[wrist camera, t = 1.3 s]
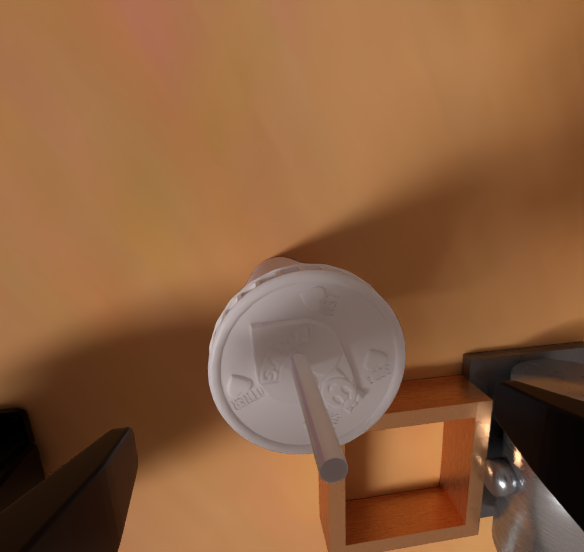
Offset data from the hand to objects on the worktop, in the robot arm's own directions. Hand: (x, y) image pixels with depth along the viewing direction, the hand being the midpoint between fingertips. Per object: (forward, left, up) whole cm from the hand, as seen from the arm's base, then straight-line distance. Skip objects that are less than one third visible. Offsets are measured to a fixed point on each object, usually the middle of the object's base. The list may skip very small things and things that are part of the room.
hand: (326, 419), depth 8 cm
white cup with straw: (0, 0, -12) cm, 12 cm away
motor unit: (+12, -12, -12) cm, 21 cm away
